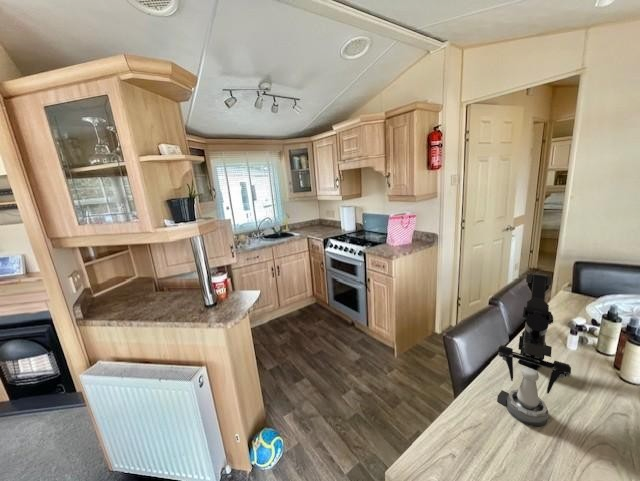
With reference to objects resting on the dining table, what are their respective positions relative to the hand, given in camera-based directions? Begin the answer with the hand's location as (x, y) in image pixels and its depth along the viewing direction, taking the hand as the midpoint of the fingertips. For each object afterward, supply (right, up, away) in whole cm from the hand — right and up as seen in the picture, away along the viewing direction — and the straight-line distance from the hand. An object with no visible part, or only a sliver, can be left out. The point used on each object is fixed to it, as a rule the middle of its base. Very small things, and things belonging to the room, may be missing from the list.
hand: (529, 386), depth 86 cm
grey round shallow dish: (+1, -10, +4) cm, 11 cm away
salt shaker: (+2, -8, +3) cm, 8 cm away
